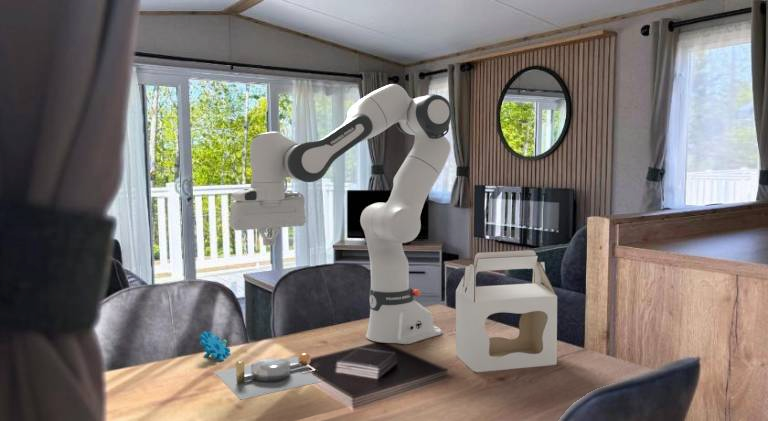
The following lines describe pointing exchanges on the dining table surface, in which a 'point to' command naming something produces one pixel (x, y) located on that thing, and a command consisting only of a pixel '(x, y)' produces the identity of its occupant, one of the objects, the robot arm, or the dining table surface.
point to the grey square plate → (262, 387)
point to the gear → (214, 346)
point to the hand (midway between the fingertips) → (269, 245)
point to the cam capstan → (270, 369)
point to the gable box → (524, 299)
